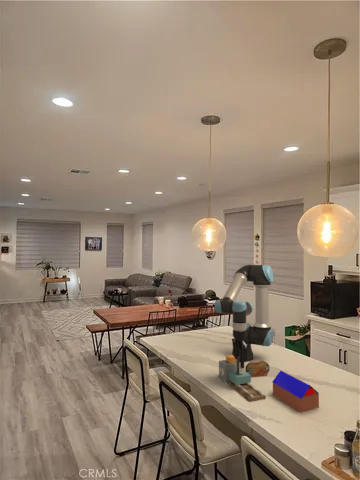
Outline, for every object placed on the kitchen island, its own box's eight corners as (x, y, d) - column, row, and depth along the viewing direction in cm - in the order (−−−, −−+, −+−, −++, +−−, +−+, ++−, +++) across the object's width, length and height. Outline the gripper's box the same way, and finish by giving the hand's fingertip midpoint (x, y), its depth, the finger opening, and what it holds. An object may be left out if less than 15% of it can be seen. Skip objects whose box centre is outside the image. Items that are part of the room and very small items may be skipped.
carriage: (229, 379, 176) (229, 355, 177) (243, 376, 180) (242, 353, 180) (236, 384, 169) (236, 360, 169) (250, 382, 172) (250, 358, 172)
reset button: (232, 359, 186) (232, 354, 186) (236, 362, 182) (236, 357, 182) (226, 360, 185) (226, 355, 185) (229, 363, 181) (229, 357, 181)
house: (289, 390, 169) (289, 368, 169) (320, 407, 151) (319, 383, 151) (271, 394, 164) (271, 372, 164) (301, 413, 146) (300, 387, 146)
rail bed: (228, 383, 177) (228, 379, 177) (242, 381, 180) (242, 376, 180) (250, 401, 156) (250, 396, 156) (265, 398, 159) (265, 393, 159)
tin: (247, 378, 184) (247, 363, 185) (244, 376, 188) (244, 361, 188) (269, 375, 189) (269, 361, 189) (267, 373, 192) (266, 359, 192)
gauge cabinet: (236, 375, 189) (236, 358, 189) (244, 380, 181) (243, 362, 182) (218, 378, 185) (218, 360, 185) (224, 383, 177) (224, 365, 177)
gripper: (226, 326, 181) (226, 367, 181) (241, 334, 166) (241, 378, 166) (238, 325, 184) (238, 366, 183) (253, 332, 169) (253, 376, 168)
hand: (239, 372), depth 174 cm, fingers closed on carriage, 3 cm apart
